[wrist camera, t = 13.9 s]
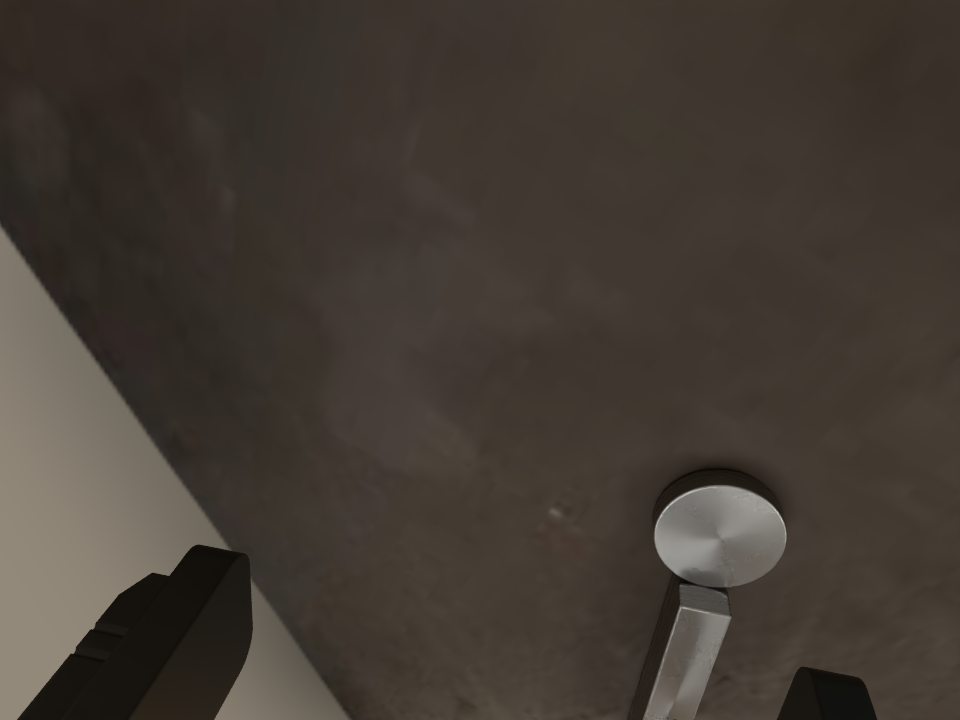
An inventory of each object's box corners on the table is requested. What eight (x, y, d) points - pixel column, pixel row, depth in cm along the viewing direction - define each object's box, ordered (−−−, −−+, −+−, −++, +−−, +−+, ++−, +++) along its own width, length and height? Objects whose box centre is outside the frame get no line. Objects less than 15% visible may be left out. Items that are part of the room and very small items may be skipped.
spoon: (668, 457, 27) (671, 495, 25) (798, 482, 26) (812, 523, 24) (594, 718, 33) (592, 765, 31) (699, 742, 32) (704, 791, 31)
